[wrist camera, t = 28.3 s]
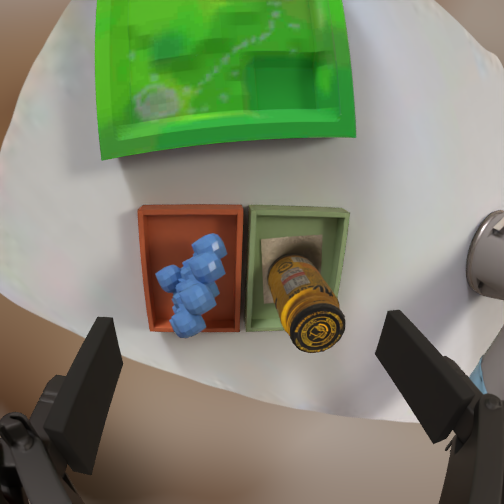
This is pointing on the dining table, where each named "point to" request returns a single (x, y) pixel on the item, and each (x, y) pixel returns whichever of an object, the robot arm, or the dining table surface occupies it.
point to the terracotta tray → (180, 249)
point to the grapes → (194, 285)
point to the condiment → (301, 292)
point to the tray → (220, 72)
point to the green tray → (287, 225)
